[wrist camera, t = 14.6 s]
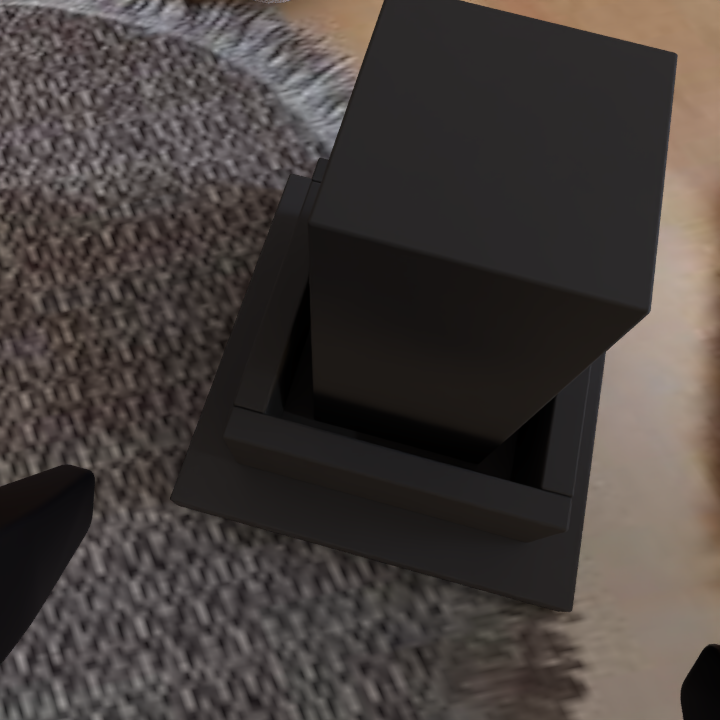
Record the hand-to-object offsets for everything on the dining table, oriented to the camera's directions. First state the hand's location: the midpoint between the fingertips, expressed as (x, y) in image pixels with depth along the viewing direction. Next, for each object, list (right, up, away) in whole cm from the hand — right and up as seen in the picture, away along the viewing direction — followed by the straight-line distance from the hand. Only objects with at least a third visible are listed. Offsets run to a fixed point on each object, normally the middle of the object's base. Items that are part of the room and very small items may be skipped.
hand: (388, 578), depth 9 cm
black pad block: (+1, +3, +10) cm, 10 cm away
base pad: (+1, +3, +11) cm, 11 cm away
